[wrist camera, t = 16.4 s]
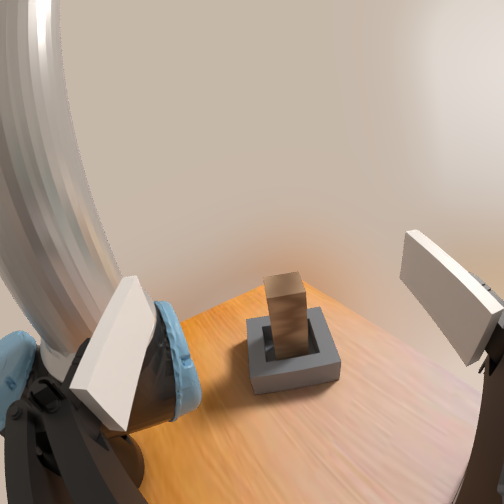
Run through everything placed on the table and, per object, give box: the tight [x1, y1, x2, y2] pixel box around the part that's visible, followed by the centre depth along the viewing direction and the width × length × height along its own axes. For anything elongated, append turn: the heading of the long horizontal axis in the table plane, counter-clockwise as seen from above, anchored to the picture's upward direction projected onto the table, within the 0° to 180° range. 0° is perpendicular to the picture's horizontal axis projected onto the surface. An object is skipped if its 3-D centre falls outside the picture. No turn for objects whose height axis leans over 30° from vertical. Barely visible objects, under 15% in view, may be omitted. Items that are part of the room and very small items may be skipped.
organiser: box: [246, 307, 341, 395], centre depth 43 cm, size 13×13×4 cm
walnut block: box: [263, 272, 309, 361], centre depth 40 cm, size 5×5×14 cm
